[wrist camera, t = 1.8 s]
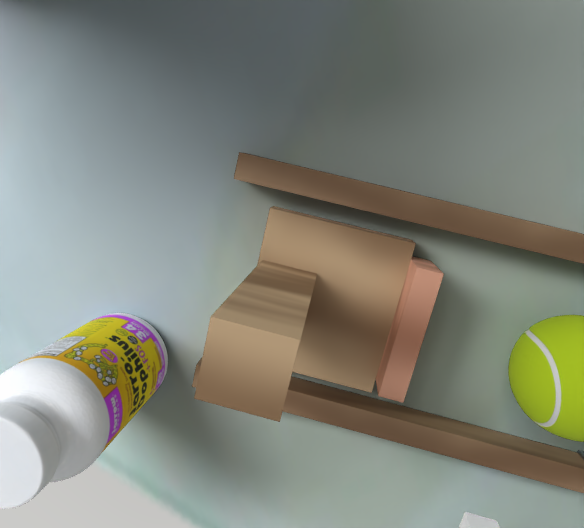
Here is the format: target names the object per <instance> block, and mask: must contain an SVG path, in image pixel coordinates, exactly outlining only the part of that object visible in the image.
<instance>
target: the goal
mask: <svg viewBox="0 0 584 528" xmlns="http://www.w3.org/2000/svg"><path fill="white" fill-rule="evenodd" d="M577 453H578V454H579V455H580V456H581V458H582V459H583V460H584V451H580V450H578V452H577Z"/></svg>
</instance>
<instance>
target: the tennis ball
mask: <svg viewBox="0 0 584 528" xmlns="http://www.w3.org/2000/svg"><path fill="white" fill-rule="evenodd" d="M509 381H510V385H511V389H512V392H513V394H514V396H515V398H516V400H517V402H518V404H519V405H520V407H521V408H522V410H523V411H524V412H525V413H526V415H527V416H528V417H529V418H530V419H532V420H533V421H534V422H535V423H536V424H538V425H539V426H540V427H542V428H543V429H545V430H547V431H549V432H551V433H553V434H555V435H557V436H560V437H563V438H566V439H570V440H574V441H580V442H584V316H582V315H562V316H556V317H552V318H548V319H545V320H543V321H540V322H538V323H536V324H534V325H533V326H531V327H530V328H529V330H527V331H525V332H524V333H523V334H522V335H521V336H520V338H519V339H518V341H517V342H516V344H515V346H514V348H513V350H512V353H511V356H510V360H509Z"/></svg>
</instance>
